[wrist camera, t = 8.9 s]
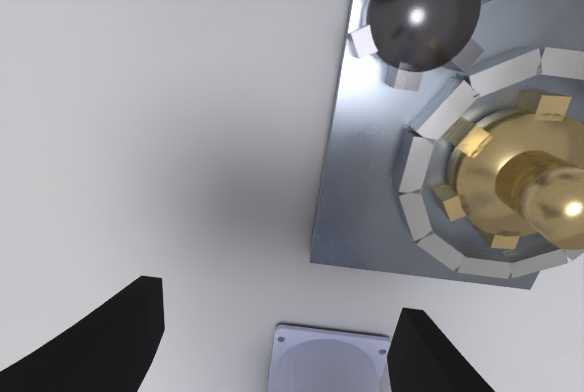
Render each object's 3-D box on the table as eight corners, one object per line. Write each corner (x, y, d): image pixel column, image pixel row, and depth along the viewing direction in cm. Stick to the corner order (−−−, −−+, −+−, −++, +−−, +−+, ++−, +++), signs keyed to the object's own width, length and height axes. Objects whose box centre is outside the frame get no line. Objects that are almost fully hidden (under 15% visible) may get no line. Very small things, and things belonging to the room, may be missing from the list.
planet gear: (553, 236, 18) (637, 303, 14) (422, 228, 19) (461, 292, 14) (612, 94, 15) (747, 118, 11) (455, 86, 16) (519, 107, 11)
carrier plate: (542, 279, 21) (580, 318, 18) (308, 251, 21) (308, 284, 18) (702, -24, 14) (801, -40, 11) (359, -68, 14) (372, -96, 11)
